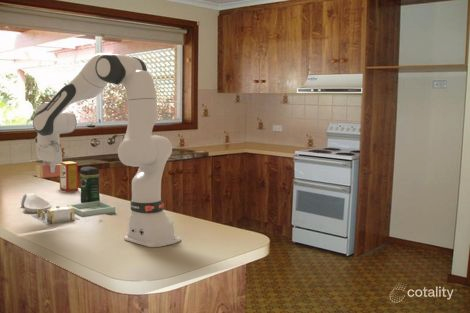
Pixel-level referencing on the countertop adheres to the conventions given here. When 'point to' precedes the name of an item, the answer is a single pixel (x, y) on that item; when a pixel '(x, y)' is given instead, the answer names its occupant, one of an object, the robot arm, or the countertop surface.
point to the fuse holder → (56, 215)
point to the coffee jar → (89, 184)
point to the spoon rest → (35, 203)
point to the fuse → (44, 172)
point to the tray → (96, 205)
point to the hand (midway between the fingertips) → (49, 171)
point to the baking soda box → (69, 176)
